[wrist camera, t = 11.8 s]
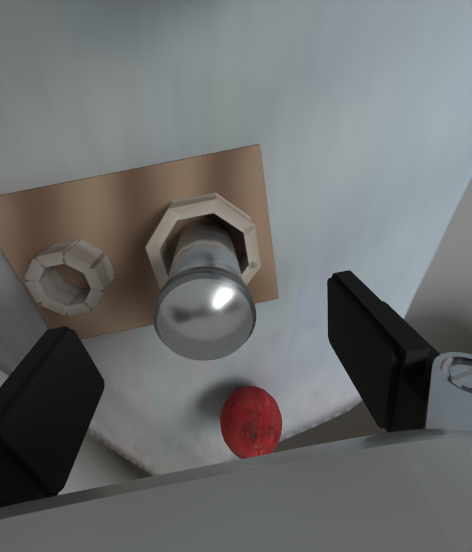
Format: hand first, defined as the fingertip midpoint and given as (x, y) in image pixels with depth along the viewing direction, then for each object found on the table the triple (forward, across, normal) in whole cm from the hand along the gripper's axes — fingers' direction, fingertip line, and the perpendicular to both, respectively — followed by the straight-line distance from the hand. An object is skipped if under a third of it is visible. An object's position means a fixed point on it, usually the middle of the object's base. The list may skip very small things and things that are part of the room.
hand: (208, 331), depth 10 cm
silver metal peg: (+11, 0, +1) cm, 11 cm away
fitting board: (+12, +5, +1) cm, 13 cm away
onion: (+12, 0, +18) cm, 22 cm away
